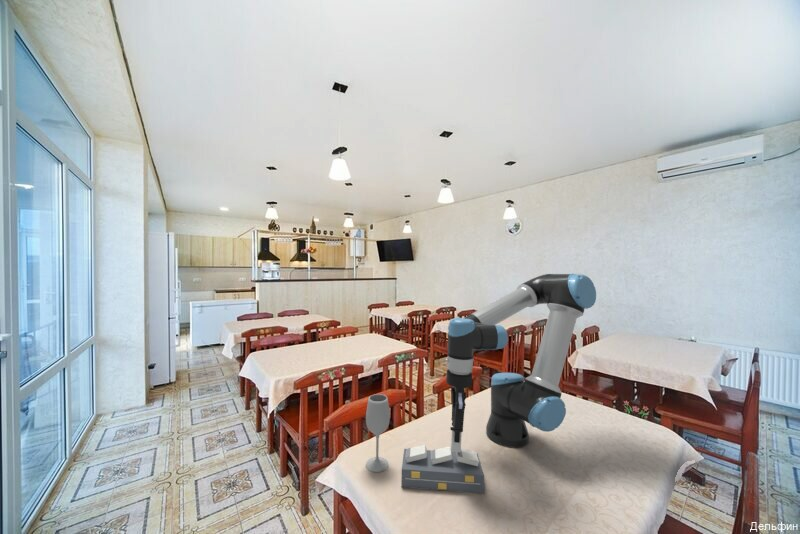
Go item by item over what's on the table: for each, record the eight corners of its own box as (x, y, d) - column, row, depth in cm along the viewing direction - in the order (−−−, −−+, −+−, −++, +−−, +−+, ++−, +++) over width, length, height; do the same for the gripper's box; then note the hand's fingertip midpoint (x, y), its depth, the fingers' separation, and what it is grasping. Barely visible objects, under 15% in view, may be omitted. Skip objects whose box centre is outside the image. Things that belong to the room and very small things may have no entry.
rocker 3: (475, 457, 89) (476, 452, 89) (477, 466, 85) (478, 461, 85) (455, 452, 90) (456, 447, 90) (457, 461, 86) (458, 456, 86)
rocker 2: (451, 450, 90) (449, 445, 90) (452, 459, 86) (450, 454, 86) (432, 455, 91) (430, 450, 91) (432, 464, 86) (431, 459, 86)
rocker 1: (426, 448, 91) (425, 444, 91) (426, 457, 86) (425, 452, 86) (407, 453, 91) (406, 448, 91) (407, 462, 87) (405, 457, 87)
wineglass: (365, 457, 97) (366, 393, 98) (388, 456, 98) (389, 392, 98) (364, 473, 90) (365, 403, 90) (389, 472, 90) (390, 402, 91)
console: (477, 469, 92) (477, 453, 92) (484, 494, 82) (484, 475, 82) (404, 464, 94) (404, 448, 94) (401, 487, 84) (401, 469, 84)
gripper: (445, 363, 95) (441, 437, 95) (448, 377, 82) (444, 463, 82) (469, 365, 95) (465, 440, 94) (475, 379, 82) (472, 466, 81)
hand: (455, 450), depth 88 cm, fingers closed
